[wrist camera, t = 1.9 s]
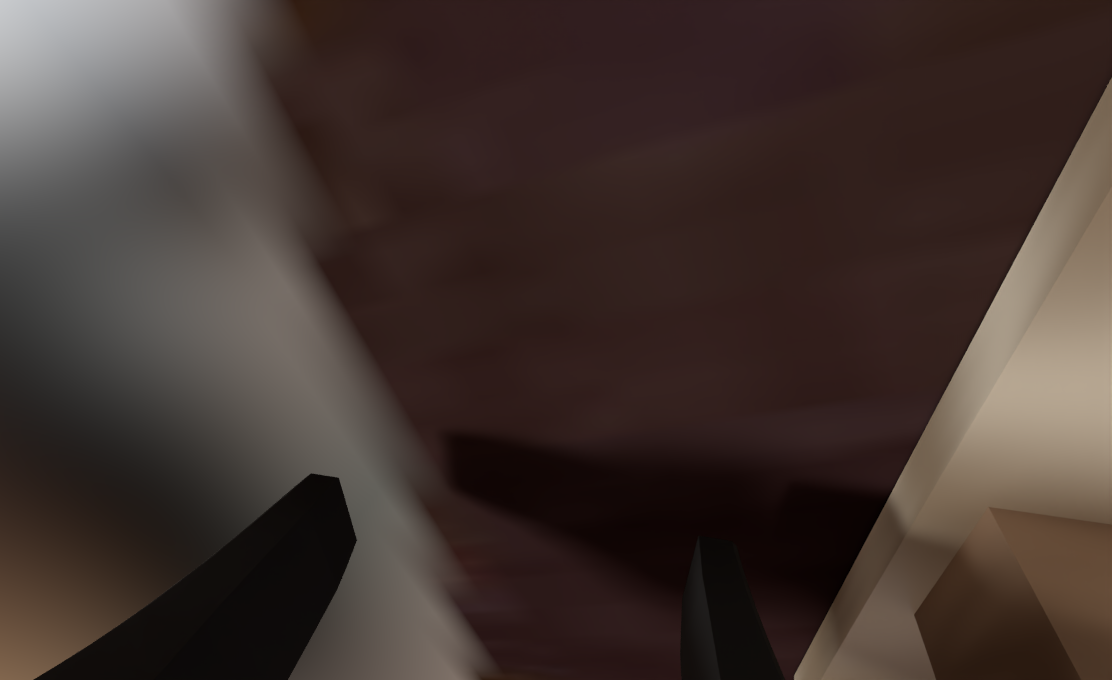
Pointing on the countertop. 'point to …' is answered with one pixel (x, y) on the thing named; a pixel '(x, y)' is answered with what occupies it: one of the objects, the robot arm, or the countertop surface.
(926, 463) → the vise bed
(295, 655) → the robot arm
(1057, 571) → the block
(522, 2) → the countertop surface
